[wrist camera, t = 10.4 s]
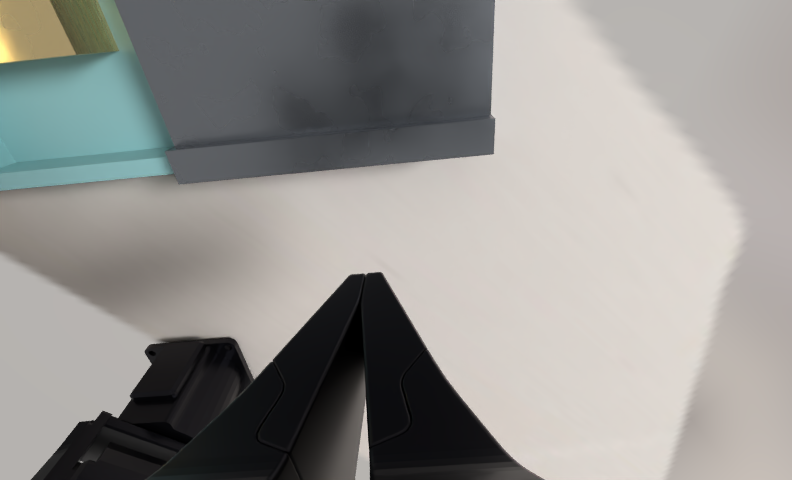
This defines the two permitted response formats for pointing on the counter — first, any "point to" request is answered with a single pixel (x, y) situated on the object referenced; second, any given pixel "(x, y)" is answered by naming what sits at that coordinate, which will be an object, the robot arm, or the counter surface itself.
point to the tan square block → (52, 29)
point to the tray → (80, 118)
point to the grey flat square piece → (315, 82)
